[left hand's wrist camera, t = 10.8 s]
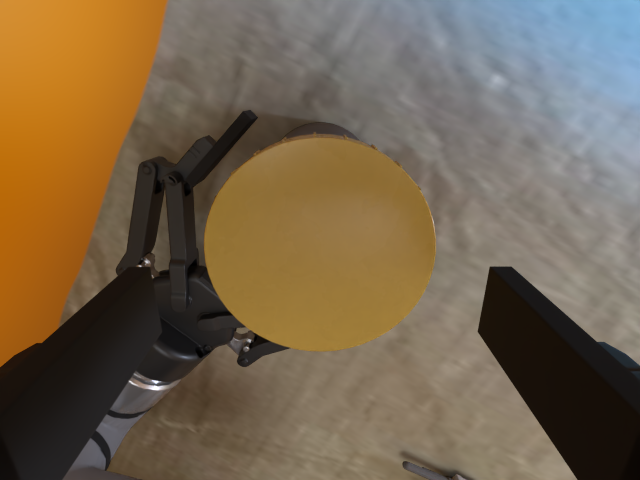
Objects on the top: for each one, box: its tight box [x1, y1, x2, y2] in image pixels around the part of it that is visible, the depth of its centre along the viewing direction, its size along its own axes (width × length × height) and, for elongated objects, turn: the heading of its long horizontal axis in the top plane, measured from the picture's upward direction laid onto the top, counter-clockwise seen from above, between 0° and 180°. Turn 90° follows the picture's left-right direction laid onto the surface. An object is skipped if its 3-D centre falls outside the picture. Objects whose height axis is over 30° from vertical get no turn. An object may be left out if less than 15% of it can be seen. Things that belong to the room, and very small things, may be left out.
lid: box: [204, 132, 436, 351], centre depth 18 cm, size 11×11×2 cm
